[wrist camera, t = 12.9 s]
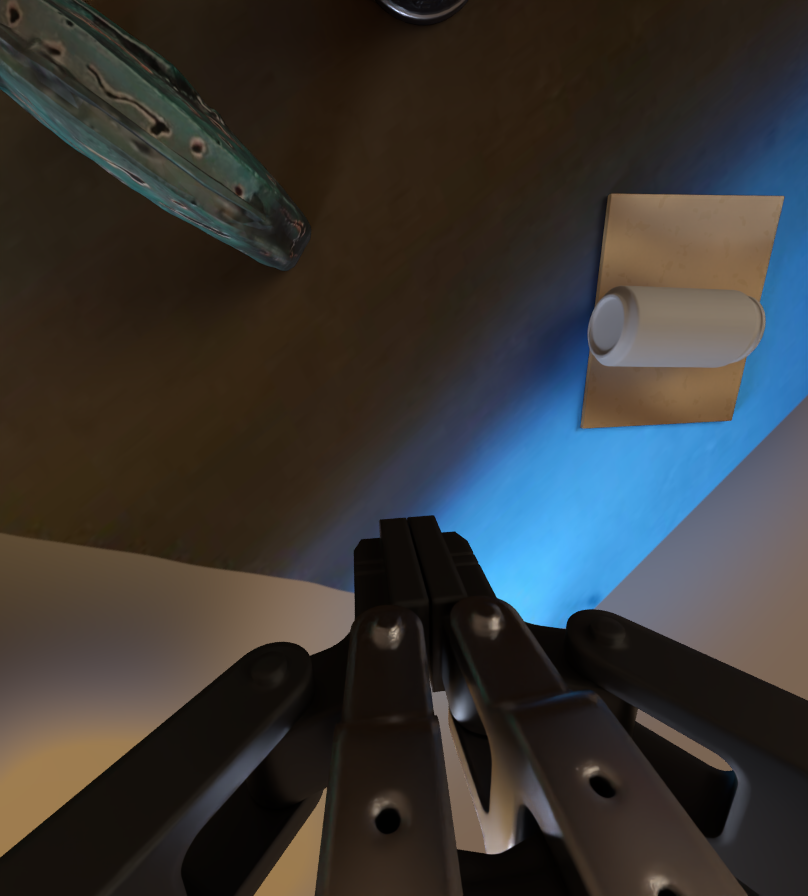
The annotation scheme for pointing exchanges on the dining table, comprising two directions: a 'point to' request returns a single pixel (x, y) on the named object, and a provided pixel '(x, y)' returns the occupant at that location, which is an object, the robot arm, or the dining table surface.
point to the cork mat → (678, 266)
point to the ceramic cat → (144, 125)
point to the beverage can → (674, 327)
